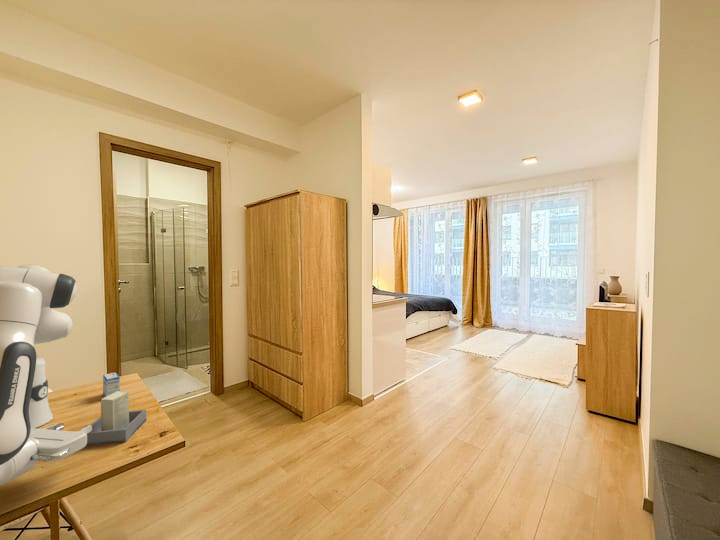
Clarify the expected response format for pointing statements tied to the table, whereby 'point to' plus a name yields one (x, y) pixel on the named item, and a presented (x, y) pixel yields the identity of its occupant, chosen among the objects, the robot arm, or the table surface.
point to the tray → (118, 434)
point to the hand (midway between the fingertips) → (75, 426)
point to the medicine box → (110, 383)
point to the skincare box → (115, 411)
